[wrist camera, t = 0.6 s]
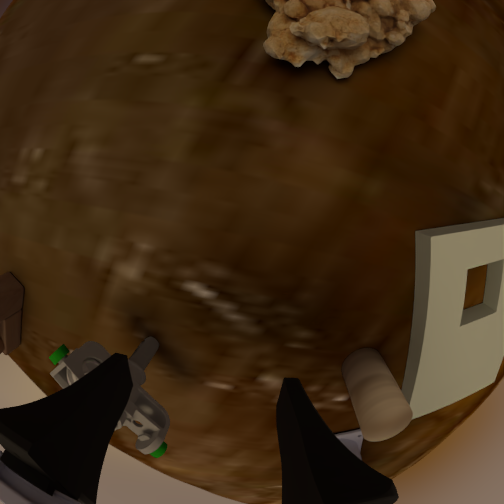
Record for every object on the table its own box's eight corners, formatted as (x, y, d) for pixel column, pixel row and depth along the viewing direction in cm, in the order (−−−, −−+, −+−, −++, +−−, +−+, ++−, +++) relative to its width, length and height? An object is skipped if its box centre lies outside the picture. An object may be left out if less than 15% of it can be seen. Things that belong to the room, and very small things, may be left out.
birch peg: (379, 376, 23) (407, 432, 15) (341, 384, 23) (359, 446, 15) (382, 343, 22) (417, 400, 14) (341, 352, 22) (365, 415, 14)
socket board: (484, 371, 23) (493, 381, 20) (397, 407, 24) (404, 421, 21) (511, 216, 18) (526, 220, 16) (415, 231, 19) (430, 236, 17)
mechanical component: (177, 385, 24) (144, 462, 14) (106, 308, 23) (41, 365, 13) (198, 375, 24) (169, 457, 14) (124, 292, 22) (55, 350, 12)
